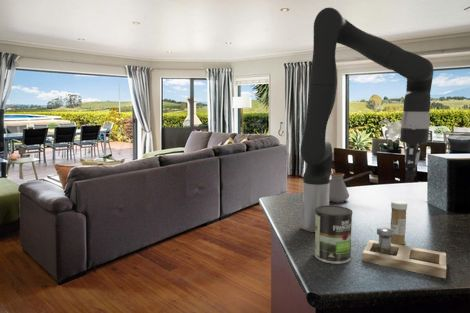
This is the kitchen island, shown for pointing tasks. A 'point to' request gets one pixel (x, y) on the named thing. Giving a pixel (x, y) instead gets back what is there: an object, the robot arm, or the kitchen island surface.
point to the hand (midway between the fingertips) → (410, 179)
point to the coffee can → (333, 234)
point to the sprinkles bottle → (398, 222)
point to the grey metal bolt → (385, 240)
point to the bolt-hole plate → (407, 259)
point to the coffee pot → (340, 187)
